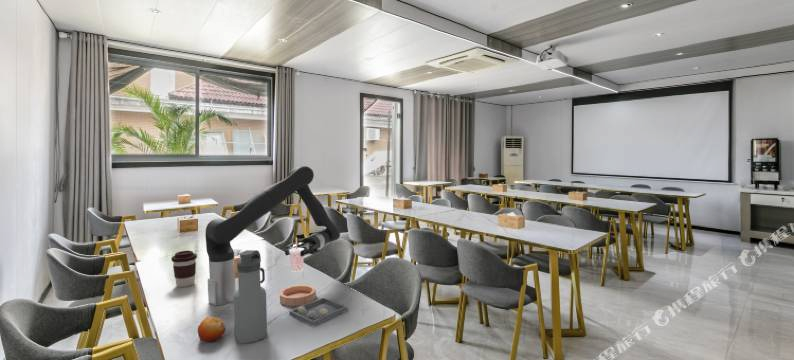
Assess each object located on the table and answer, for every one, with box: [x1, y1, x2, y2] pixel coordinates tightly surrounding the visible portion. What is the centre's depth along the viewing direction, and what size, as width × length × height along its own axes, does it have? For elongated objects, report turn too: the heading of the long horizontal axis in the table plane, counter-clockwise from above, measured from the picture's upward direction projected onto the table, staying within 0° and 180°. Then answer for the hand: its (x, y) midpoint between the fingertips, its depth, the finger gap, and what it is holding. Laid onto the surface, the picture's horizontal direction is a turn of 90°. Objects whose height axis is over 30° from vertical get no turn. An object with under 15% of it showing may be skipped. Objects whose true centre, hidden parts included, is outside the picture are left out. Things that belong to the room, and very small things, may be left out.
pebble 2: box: [307, 310, 317, 321], centre depth 130 cm, size 3×3×3 cm
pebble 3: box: [318, 307, 329, 317], centre depth 132 cm, size 3×3×3 cm
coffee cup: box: [170, 250, 198, 288], centre depth 165 cm, size 10×10×15 cm
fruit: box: [197, 316, 226, 344], centre depth 116 cm, size 8×8×8 cm
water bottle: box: [233, 249, 268, 344], centre depth 117 cm, size 10×10×28 cm
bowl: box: [279, 284, 317, 307], centre depth 149 cm, size 14×14×3 cm
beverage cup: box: [289, 236, 305, 274], centre depth 148 cm, size 6×6×14 cm
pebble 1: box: [297, 305, 307, 316], centre depth 134 cm, size 3×3×3 cm
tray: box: [288, 297, 348, 327], centre depth 136 cm, size 16×14×2 cm
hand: (293, 253), depth 145 cm, fingers closed on beverage cup, 6 cm apart
